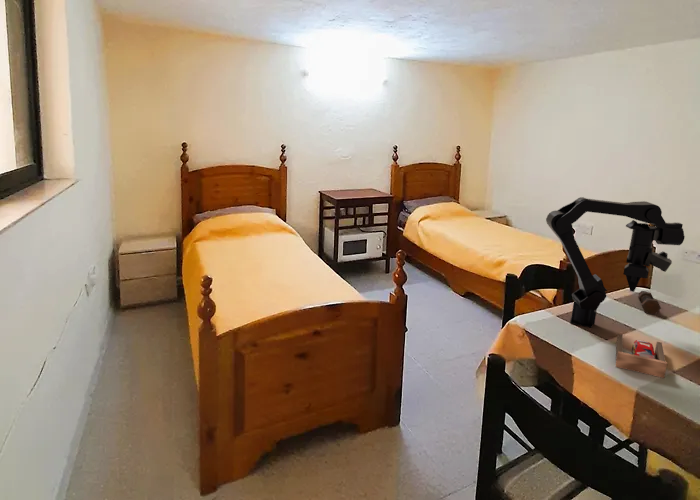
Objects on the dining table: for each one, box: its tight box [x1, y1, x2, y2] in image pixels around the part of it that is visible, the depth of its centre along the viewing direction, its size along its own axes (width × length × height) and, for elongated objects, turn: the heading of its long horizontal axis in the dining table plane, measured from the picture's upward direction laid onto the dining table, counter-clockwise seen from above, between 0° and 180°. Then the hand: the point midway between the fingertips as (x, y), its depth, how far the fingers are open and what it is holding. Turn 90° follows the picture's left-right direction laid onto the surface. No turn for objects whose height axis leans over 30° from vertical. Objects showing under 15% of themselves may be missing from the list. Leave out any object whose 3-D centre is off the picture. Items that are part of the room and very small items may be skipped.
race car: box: [631, 339, 657, 359], centre depth 128 cm, size 13×5×4 cm, turn 149°
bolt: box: [637, 290, 662, 315], centre depth 166 cm, size 6×5×15 cm
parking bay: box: [615, 333, 668, 379], centre depth 127 cm, size 11×16×4 cm
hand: (632, 291), depth 146 cm, fingers closed
